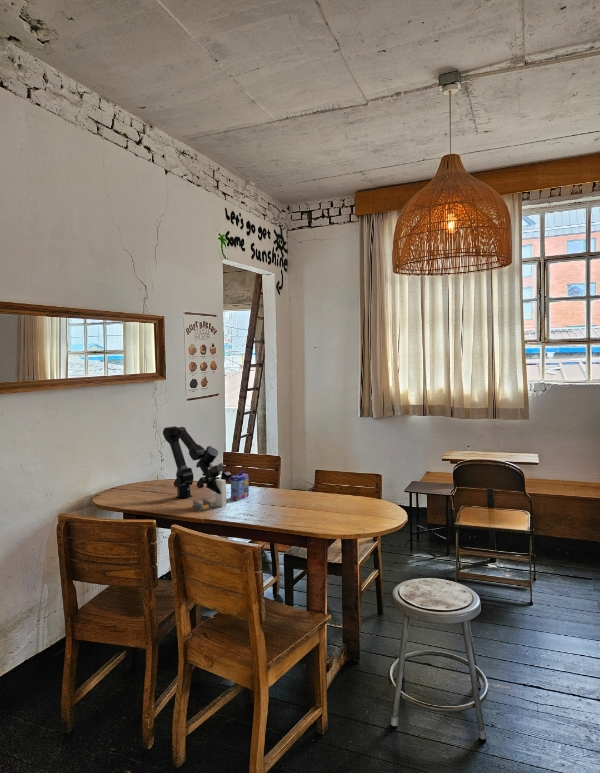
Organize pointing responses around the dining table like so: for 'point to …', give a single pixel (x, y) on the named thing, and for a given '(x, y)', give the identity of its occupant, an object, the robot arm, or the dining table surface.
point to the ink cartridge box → (239, 486)
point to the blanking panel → (222, 496)
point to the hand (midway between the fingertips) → (222, 493)
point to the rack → (202, 505)
